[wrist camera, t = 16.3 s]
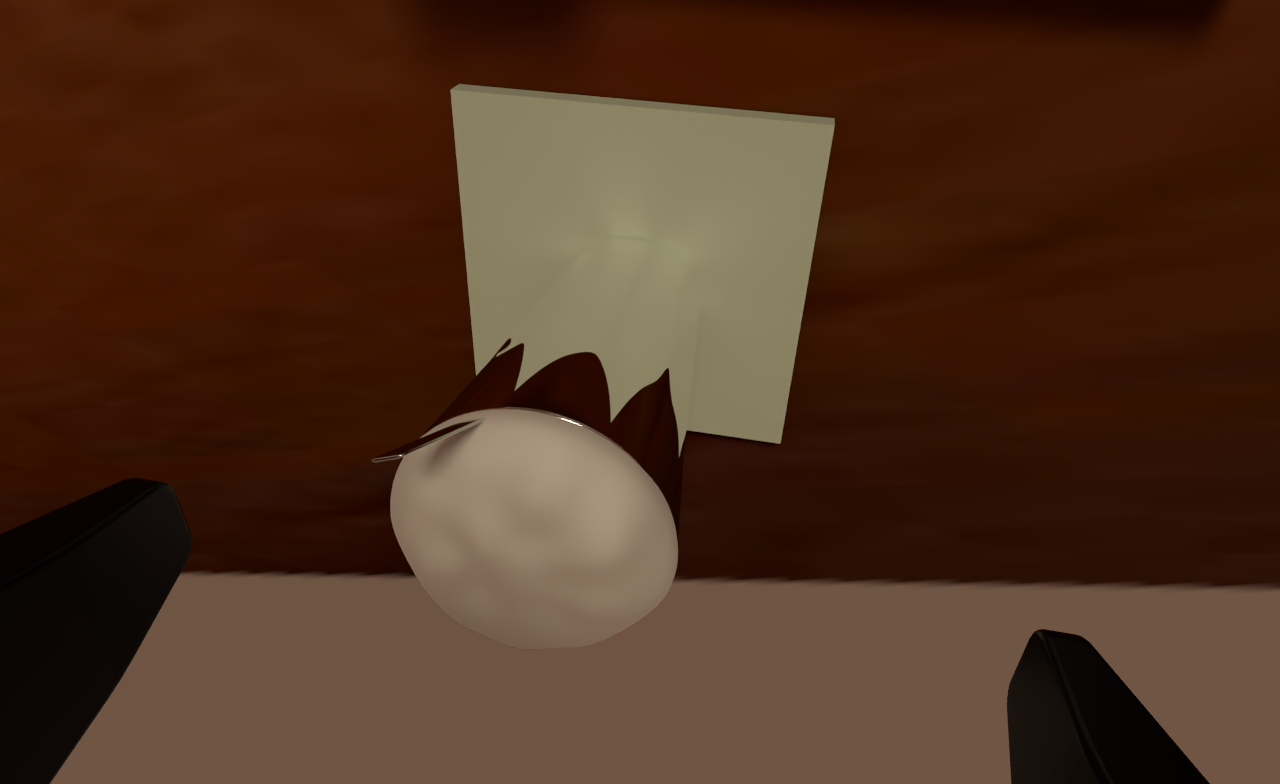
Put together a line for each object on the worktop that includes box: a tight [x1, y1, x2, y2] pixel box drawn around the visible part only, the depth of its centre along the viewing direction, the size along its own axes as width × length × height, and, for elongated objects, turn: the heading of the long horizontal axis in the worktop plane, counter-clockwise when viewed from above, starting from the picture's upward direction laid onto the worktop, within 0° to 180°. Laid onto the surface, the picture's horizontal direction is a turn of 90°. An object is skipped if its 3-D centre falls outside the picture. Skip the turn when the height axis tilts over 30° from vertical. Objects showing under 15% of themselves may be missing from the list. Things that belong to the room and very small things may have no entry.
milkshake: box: [372, 237, 700, 650], centre depth 15 cm, size 4×5×10 cm
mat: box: [451, 84, 835, 444], centre depth 19 cm, size 8×8×1 cm
